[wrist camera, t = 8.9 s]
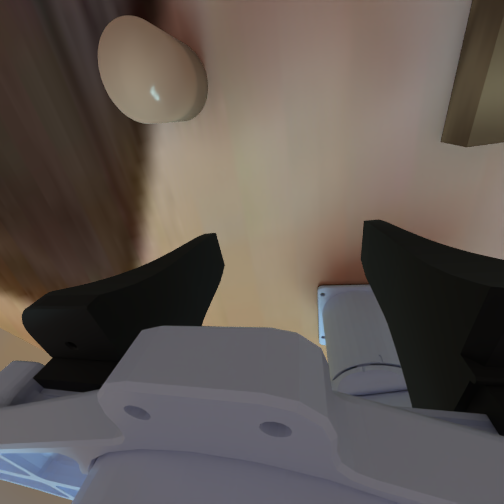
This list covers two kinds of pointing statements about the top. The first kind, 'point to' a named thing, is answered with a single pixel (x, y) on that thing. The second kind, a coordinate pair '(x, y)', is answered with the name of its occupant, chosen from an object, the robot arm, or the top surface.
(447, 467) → the robot arm
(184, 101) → the tan round piece
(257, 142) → the top surface
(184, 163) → the top surface
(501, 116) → the walnut base
